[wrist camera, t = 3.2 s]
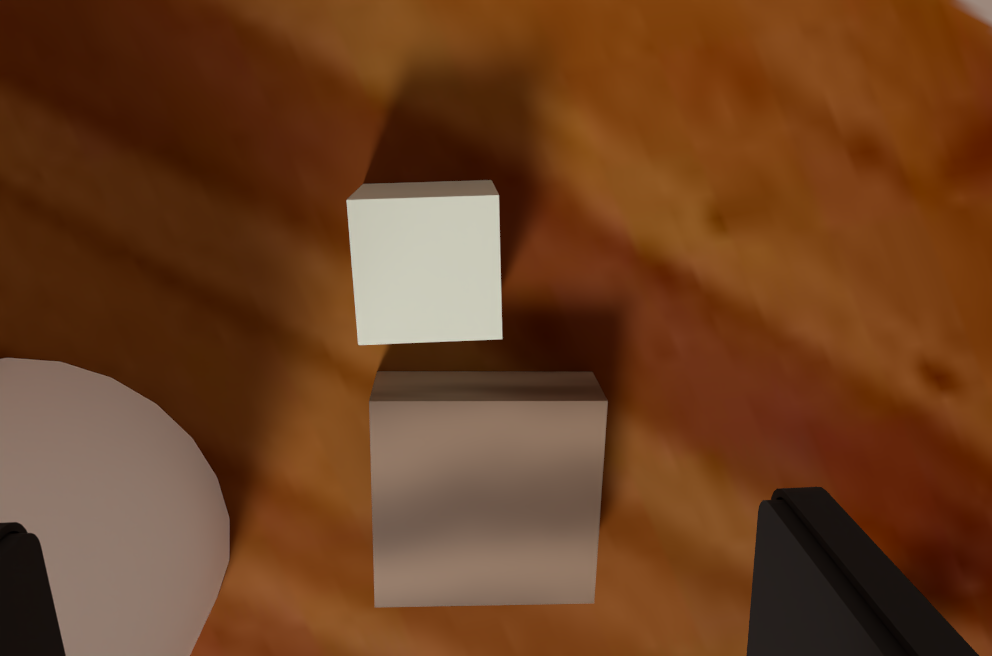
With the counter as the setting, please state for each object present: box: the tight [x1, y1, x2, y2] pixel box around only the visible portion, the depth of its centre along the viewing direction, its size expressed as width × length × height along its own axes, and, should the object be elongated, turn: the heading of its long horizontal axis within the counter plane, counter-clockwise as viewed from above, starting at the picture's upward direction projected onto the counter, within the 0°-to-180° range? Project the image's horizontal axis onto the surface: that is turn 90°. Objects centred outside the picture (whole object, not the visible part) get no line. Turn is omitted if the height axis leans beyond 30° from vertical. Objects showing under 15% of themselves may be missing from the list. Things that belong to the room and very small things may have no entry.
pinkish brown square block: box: [369, 371, 608, 607], centre depth 35 cm, size 10×10×4 cm
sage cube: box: [347, 180, 502, 345], centre depth 31 cm, size 6×6×6 cm
